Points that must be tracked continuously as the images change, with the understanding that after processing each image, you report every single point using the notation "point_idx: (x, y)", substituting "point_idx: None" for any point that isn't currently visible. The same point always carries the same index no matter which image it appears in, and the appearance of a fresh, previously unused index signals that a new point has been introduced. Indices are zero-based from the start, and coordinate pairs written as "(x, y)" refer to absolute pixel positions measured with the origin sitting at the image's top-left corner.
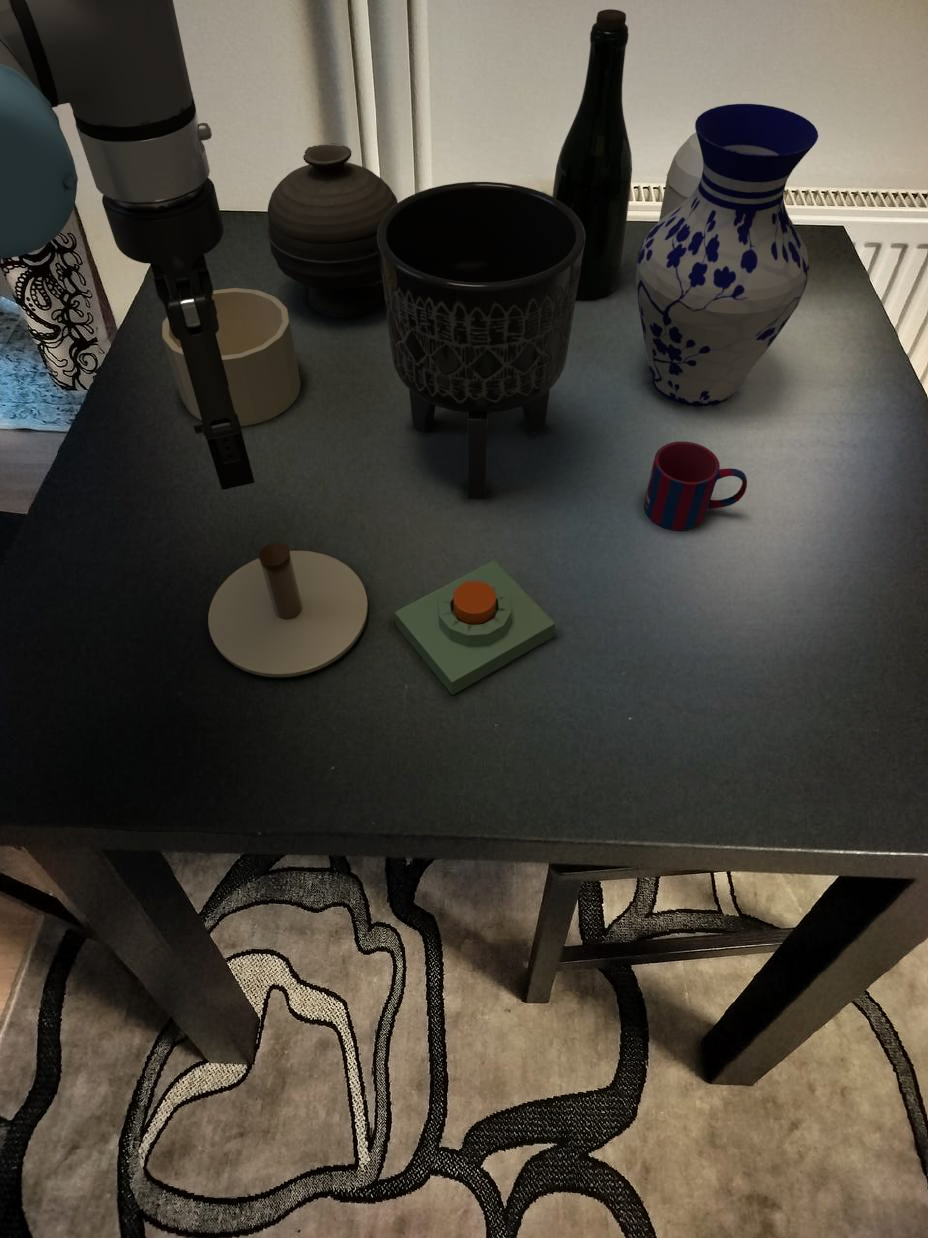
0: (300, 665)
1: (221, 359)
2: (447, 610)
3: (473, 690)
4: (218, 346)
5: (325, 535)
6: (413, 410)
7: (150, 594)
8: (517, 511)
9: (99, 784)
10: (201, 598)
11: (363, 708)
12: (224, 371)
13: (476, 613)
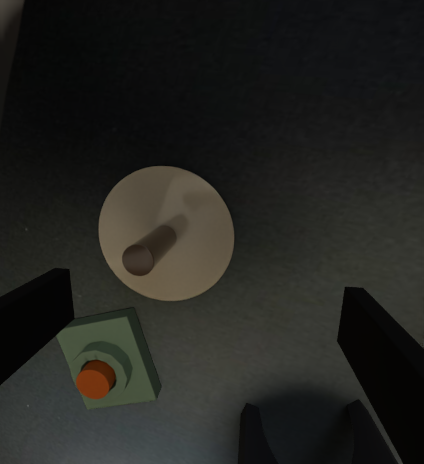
0: (103, 232)
1: (363, 388)
2: (98, 357)
3: None
4: (381, 422)
5: (249, 286)
6: (366, 418)
7: (235, 115)
8: (218, 427)
9: (43, 50)
10: (213, 164)
11: (68, 262)
12: (350, 363)
13: (76, 379)
